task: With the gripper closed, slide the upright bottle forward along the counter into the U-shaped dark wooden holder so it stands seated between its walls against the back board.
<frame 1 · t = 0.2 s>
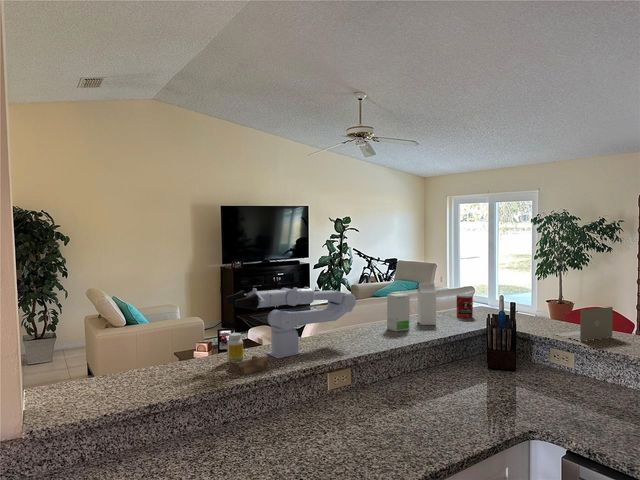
hand: (230, 301, 151), 21 cm above the countertop, tool horizontal, fingers open, 7 cm apart
laptop: (582, 337, 186), on the countertop
skincare box: (398, 329, 200), on the countertop
canned food: (464, 317, 225), on the countertop
supplement bottle: (235, 362, 155), on the countertop
milk carton: (426, 323, 211), on the countertop
wooden holder: (247, 368, 148), on the countertop
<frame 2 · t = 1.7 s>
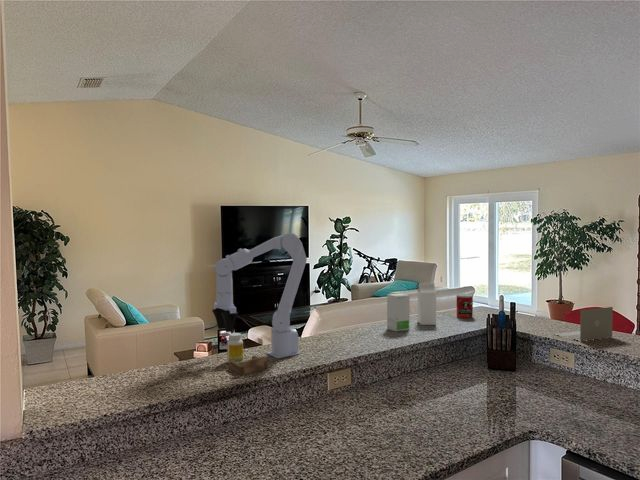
hand: (225, 330, 161), 9 cm above the countertop, tool pointing down, fingers open, 6 cm apart
nothing on the countertop moved.
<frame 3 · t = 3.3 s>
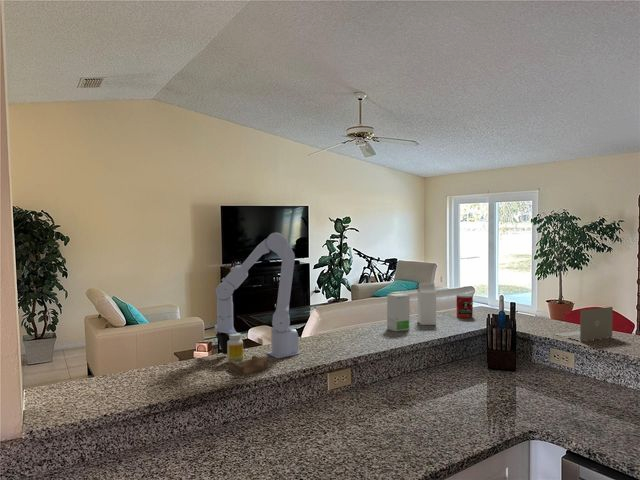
hand: (225, 353, 161), 1 cm above the countertop, tool pointing down, fingers closed
nothing on the countertop moved.
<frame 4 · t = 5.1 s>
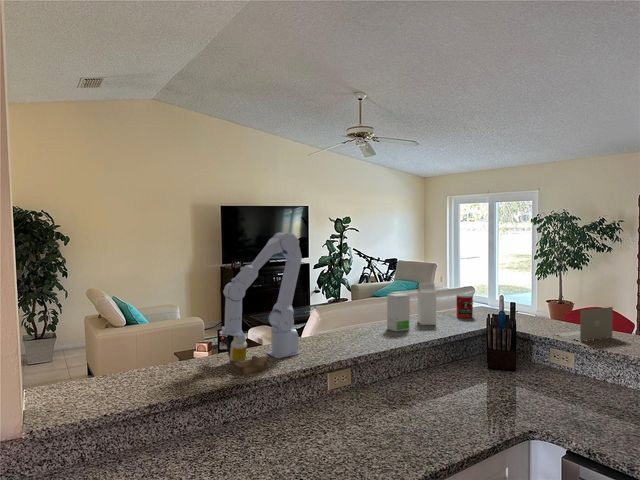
hand: (232, 357, 155), 2 cm above the countertop, tool pointing down, fingers closed, pressing on supplement bottle
supplement bottle: (237, 362, 153), on the countertop, touching gripper
everything else where it was.
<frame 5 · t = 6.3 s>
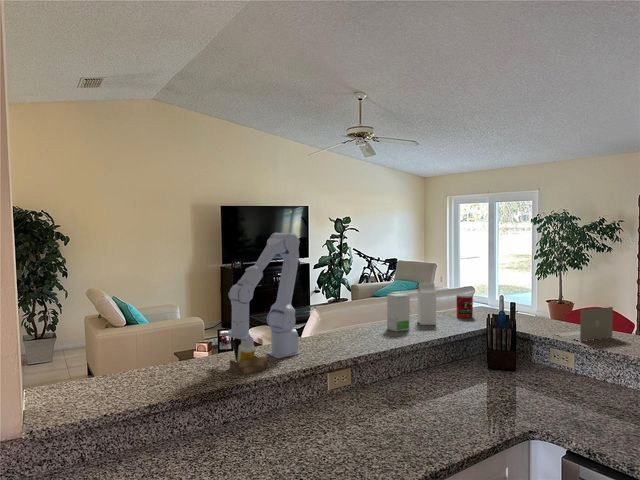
hand: (239, 361, 151), 2 cm above the countertop, tool pointing down, fingers closed, pressing on supplement bottle
supplement bottle: (244, 366, 149), on the countertop, touching gripper
everything else where it was.
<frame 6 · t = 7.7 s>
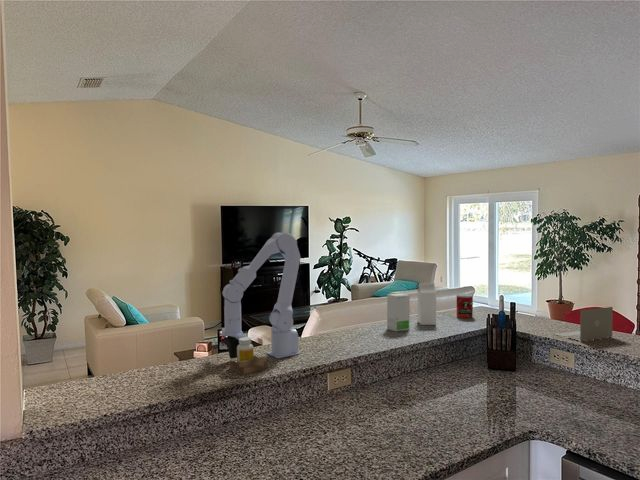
hand: (233, 357, 156), 1 cm above the countertop, tool pointing down, fingers closed
supplement bottle: (245, 367, 149), on the countertop
everything else where it was.
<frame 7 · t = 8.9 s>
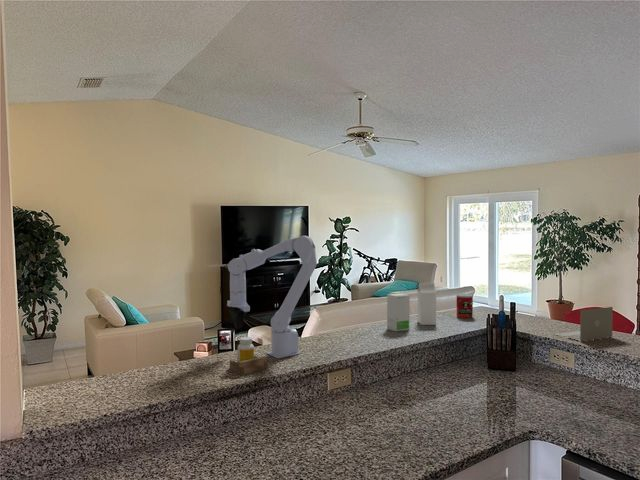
hand: (238, 328, 164), 9 cm above the countertop, tool pointing down, fingers closed
nothing on the countertop moved.
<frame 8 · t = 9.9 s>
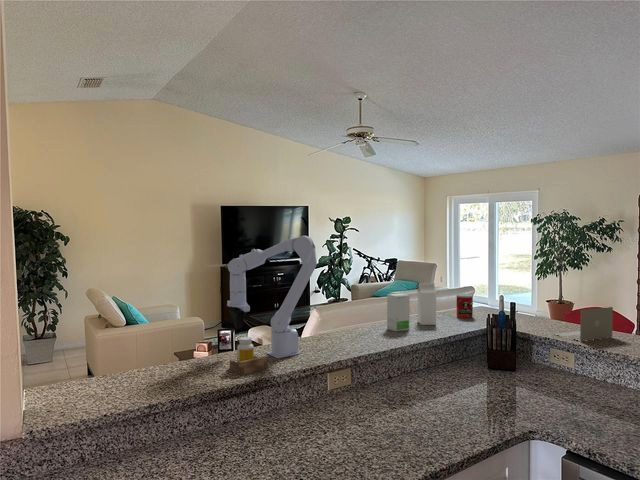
hand: (238, 328, 164), 9 cm above the countertop, tool pointing down, fingers closed
nothing on the countertop moved.
at the end: supplement bottle 1.5 cm off-centre on the wooden holder, point 0.0 cm above the wooden holder's base; supplement bottle tilted 2° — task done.
